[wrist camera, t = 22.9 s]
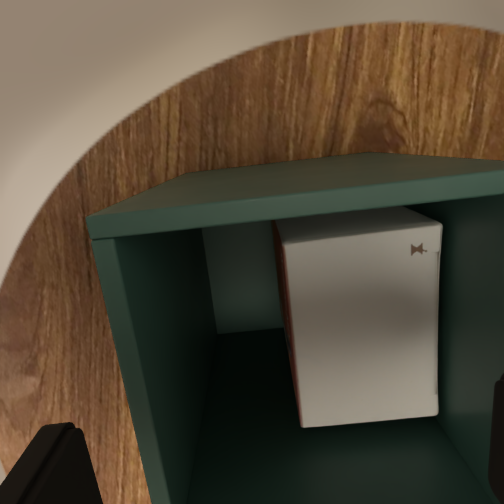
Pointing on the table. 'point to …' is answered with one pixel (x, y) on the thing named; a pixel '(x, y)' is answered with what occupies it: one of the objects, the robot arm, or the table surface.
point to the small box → (360, 313)
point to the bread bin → (274, 342)
